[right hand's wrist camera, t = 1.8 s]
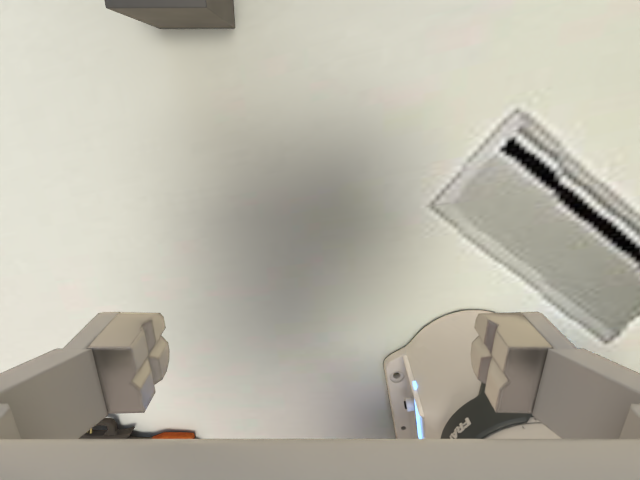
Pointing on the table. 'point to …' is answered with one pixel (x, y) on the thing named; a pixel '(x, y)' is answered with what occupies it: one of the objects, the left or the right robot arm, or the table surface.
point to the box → (177, 12)
